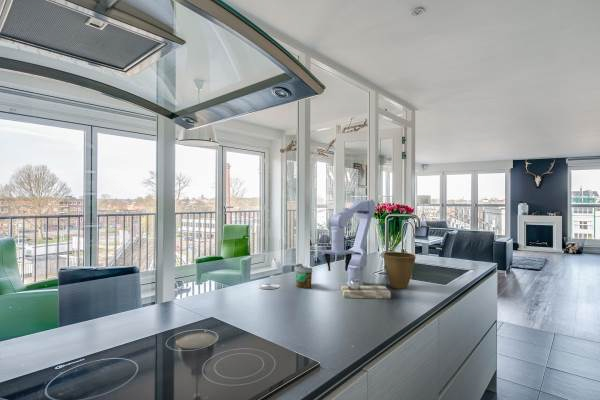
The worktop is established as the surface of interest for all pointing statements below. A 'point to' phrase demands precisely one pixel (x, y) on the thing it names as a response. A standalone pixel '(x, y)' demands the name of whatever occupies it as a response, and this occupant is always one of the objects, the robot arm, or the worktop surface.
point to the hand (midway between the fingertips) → (337, 270)
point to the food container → (303, 276)
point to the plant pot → (399, 268)
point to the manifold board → (366, 292)
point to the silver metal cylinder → (354, 283)
